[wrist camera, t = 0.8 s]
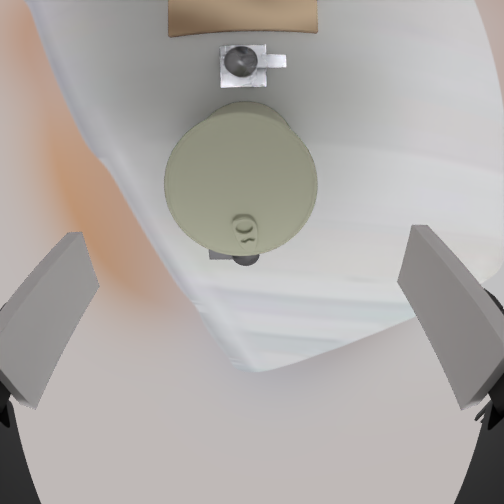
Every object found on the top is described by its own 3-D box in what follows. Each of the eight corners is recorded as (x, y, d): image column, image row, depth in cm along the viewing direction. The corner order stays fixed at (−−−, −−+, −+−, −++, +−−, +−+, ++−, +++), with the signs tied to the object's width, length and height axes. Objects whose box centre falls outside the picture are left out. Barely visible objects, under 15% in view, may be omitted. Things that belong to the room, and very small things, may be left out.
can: (207, 201, 30) (183, 269, 20) (187, 111, 25) (143, 131, 15) (299, 187, 29) (324, 251, 19) (287, 95, 24) (311, 101, 14)
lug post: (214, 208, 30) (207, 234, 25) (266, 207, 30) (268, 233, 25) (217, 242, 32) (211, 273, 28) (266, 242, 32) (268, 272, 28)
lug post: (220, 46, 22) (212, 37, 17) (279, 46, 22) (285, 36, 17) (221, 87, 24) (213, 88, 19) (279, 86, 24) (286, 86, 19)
